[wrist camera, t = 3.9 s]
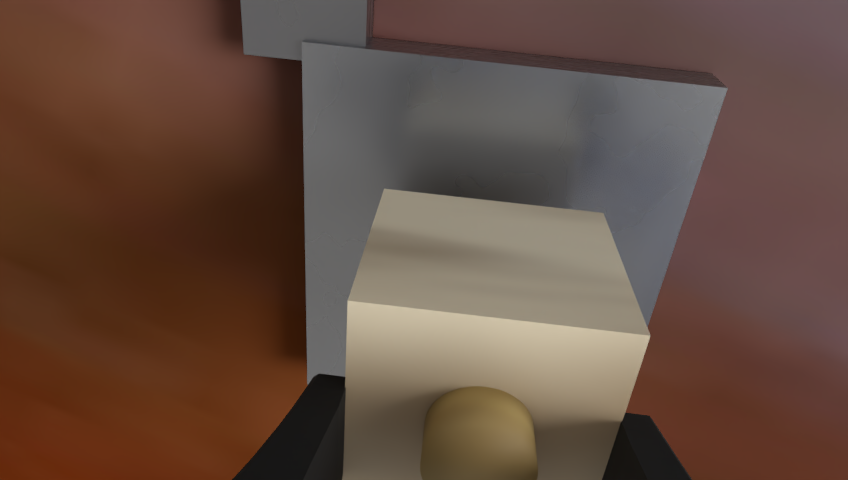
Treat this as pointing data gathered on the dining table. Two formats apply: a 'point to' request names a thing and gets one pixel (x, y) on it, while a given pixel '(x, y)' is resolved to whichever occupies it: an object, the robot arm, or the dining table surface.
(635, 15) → the dining table surface
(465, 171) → the grey panel board
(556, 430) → the block
